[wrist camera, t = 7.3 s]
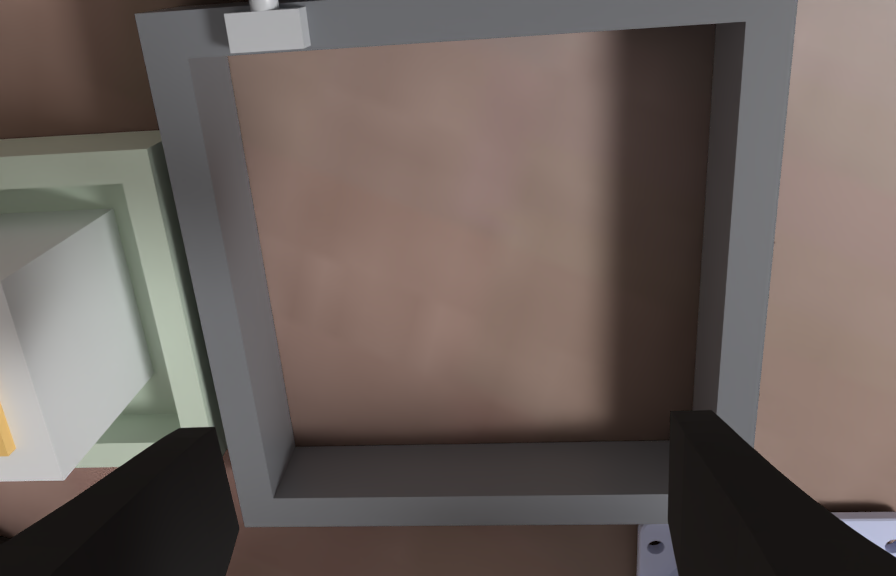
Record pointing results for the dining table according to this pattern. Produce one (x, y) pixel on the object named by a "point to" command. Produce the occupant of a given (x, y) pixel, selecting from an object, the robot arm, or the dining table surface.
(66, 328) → the block
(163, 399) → the bay
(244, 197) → the case
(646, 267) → the dining table surface
